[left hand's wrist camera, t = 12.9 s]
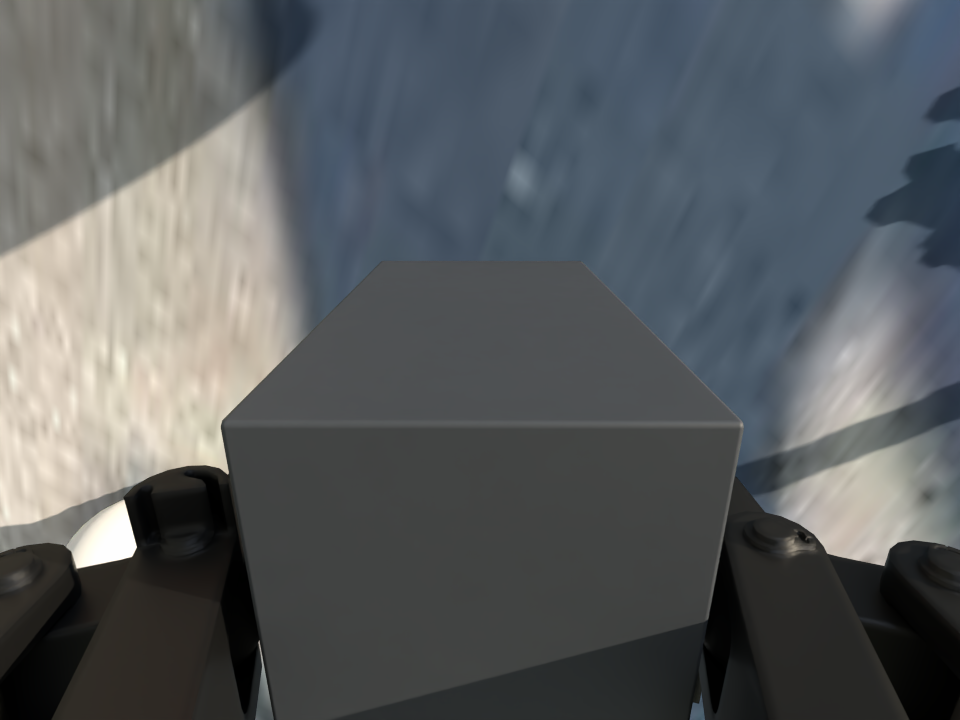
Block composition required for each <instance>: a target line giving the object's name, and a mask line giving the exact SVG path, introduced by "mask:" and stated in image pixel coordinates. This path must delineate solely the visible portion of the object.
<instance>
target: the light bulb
mask: <svg viewBox="0 0 960 720" xmlns="http://www.w3.org/2000/svg"><path fill="white" fill-rule="evenodd" d="M66 548H68V549H69V550H70V551H71V552H72V555H73V558H74V561H75V564H76V568H82V567H87V566H92V565H96V564H101V563H106V562H111V561H116V560H121V559H125V558H129V557H132V556H133V554H134V552H135V550H136V548H137V546H136V543H135V539H134V535H133V531H132V527H131V524H130V520H129V516H128V512H127V508H126V505H125V501H124V500H121V501H119V502H117V503H115V504H113V505H111V506H109V507H107V508H106V509H104V510H102V511H100V512H99V513H98V514H96V515H95V516H94V517H93V518H91V519H90V520H89V521H88V522H86V523H85V524H84V525H83V526H82V527H81V528H80V529H79V530H78V531H77V532H76V533H75V535H74V536H73V537H72V538H71V540H70V541H69V543H68V544H67V546H66Z"/></svg>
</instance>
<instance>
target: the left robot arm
mask: <svg viewBox="0 0 960 720" xmlns="http://www.w3.org/2000/svg"><path fill="white" fill-rule="evenodd" d="M124 501H125V505H126V508H127V512H128V516H129V520H130V524H131V527H132V531H133V535H134V539H135V543H136V546H137V548H136V550H135V552H134V554H133V556H132V557H129V558H125V559H121V560H116V561H111V562H106V563H101V564H96V565H92V566H87V567H82V568H76V564H75V561H74V558H73V555H72V552H71V551H70V550H69V549H68V548H66V547H65V546H64V545H59V544H52V543H43V544H35V545H26V546H22V547H18V548H16V549H11V550H8V551H5V552H2V553H0V720H255V716H256V708H257V701H258V693H259V685H260V677H261V670H262V662H261V654H260V649H259V643H258V642H259V635H258V629H257V624H256V618H255V613H254V607H253V602H252V596H251V591H250V585H249V580H248V574H247V569H246V563H245V558H244V552H243V547H242V541H241V536H240V530H239V525H238V519H237V514H236V508H235V503H234V497H233V492H232V486H231V481H230V475H229V474H228V475H227V474H226V473H225V472H223V471H222V470H221V469H220V468H215V467H210V466H206V465H205V466H186V467H181V468H176V469H171V470H167V471H165V472H162V473H159V474H157V475H154V476H151V477H149V478H147V479H146V480H144V481H142V482H141V483H139V484H137V485H136V486H134V487H133V488H132V489H131V490H130V491H129V492H128V493H127V494H126V495H125V496H124ZM701 692H702V699H703V707H704V715H705V720H960V550H958V549H955V548H952V547H949V546H948V547H946V546H945V545H942V544H937V543H930V542H922V541H914V540H913V541H906V542H899V543H897V544H896V545H894V546H893V547H892V548H891V549H890V550H889V553H888V557H887V560H886V563H885V566H881V565H876V564H871V563H866V562H861V561H857V560H852V559H847V558H842V557H838V556H834V555H830V554H827V553H826V551H825V549H824V547H823V545H822V544H821V543H820V542H819V540H818V539H817V538H816V537H815V535H814V534H812V533H811V532H809V531H808V530H807V529H805V528H804V527H802V526H801V525H799V524H797V523H795V522H793V521H790V520H788V519H786V518H784V517H781V516H777V515H773V514H769V513H765V512H764V510H763V509H762V508H761V507H760V505H759V504H758V503H757V502H756V501H755V499H754V498H753V497H752V496H751V494H750V493H749V492H748V491H747V489H746V488H745V487H744V486H743V485H742V483H741V482H740V481H739V480H738V478H737V477H735V478H734V483H733V488H732V494H731V499H730V504H729V510H728V515H727V521H726V526H725V531H724V537H723V542H722V547H721V553H720V558H719V564H718V569H717V574H716V580H715V585H714V590H713V596H712V601H711V606H710V612H709V617H708V623H707V628H706V633H705V639H704V644H703V649H702V655H701V660H700V666H699V671H698V676H697V682H696V687H695V692H694V698H693V702H694V703H698V704H699V701H700V696H701Z"/></svg>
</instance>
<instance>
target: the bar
mask: <svg viewBox="0 0 960 720" xmlns="http://www.w3.org/2000/svg"><path fill="white" fill-rule="evenodd" d="M743 429H744V427H743V423H742V421H741V420H740V419H739V418H738V417H737V416H736V415H735V414H734V413H733V412H732V411H731V410H730V409H729V408H728V407H727V406H726V405H725V404H724V403H723V402H722V401H721V400H720V399H719V398H718V397H717V396H716V395H715V394H714V393H713V392H712V391H711V390H710V389H709V388H708V387H707V386H706V385H705V384H704V383H703V382H702V381H701V380H700V379H699V378H698V377H697V376H696V375H695V374H694V373H693V372H692V371H691V370H690V369H689V368H688V367H687V366H686V365H685V364H684V363H683V362H682V361H681V360H680V359H679V358H678V357H677V356H676V355H675V354H674V353H673V352H672V351H671V350H670V349H669V348H668V347H667V346H666V345H665V344H664V343H663V342H662V341H661V340H660V339H659V338H658V337H657V336H656V335H655V334H654V333H653V332H652V331H651V330H650V329H649V328H648V327H647V326H646V325H645V324H644V323H643V322H642V321H641V320H640V319H639V318H638V317H637V316H636V315H635V314H634V313H633V312H632V311H631V310H630V309H629V308H628V307H627V306H626V305H625V304H624V303H623V302H622V301H621V300H620V299H619V298H618V297H617V296H616V295H615V294H614V293H613V292H612V291H611V290H610V289H609V288H608V287H607V286H606V285H605V284H604V283H603V282H602V281H601V280H600V279H599V278H598V277H597V276H596V275H595V274H594V273H593V272H592V271H591V270H590V269H589V268H588V267H587V266H586V265H585V264H584V263H583V262H581V261H382V262H381V263H380V264H379V265H378V266H377V267H376V268H375V269H374V270H373V271H372V272H371V273H370V274H369V275H368V276H367V277H366V278H365V279H364V280H363V281H362V282H361V283H360V284H359V285H358V286H357V287H356V288H355V289H354V290H353V291H352V292H351V293H350V294H349V295H348V296H347V297H346V298H345V299H344V300H343V301H342V302H341V303H340V304H339V305H338V306H337V307H336V308H335V309H334V310H333V311H332V312H331V313H330V314H329V315H328V316H327V317H326V318H325V319H324V320H323V321H322V322H321V323H320V324H319V325H318V326H317V327H316V328H315V329H314V330H313V331H312V332H311V333H310V334H309V335H308V336H307V337H306V338H305V339H304V340H303V341H302V342H301V343H300V344H299V345H298V346H297V347H296V348H295V349H294V350H293V351H292V352H291V353H290V354H289V355H288V356H287V357H286V358H285V359H284V360H283V361H282V362H281V363H280V364H279V365H277V366H276V367H275V368H274V369H273V370H272V371H271V372H270V373H269V374H268V375H267V376H266V377H265V378H264V379H263V380H262V381H261V382H260V383H259V384H258V385H257V386H256V387H255V388H254V389H253V390H252V391H251V392H250V393H249V394H248V395H247V396H246V397H245V398H244V399H243V400H242V401H241V402H240V403H239V404H238V405H237V406H236V407H235V408H234V409H233V410H232V411H231V412H230V413H229V414H228V415H227V416H226V417H225V418H224V419H223V420H222V424H221V431H222V437H223V442H224V448H225V453H226V459H227V464H228V470H229V475H230V481H231V486H232V492H233V497H234V503H235V508H236V514H237V519H238V525H239V530H240V536H241V541H242V547H243V552H244V558H245V563H246V569H247V574H248V580H249V585H250V591H251V596H252V602H253V607H254V613H255V618H256V624H257V629H258V635H259V640H260V646H261V651H262V657H263V662H264V668H265V673H266V678H267V684H268V689H269V695H270V700H271V706H272V711H273V717H274V720H689V719H690V714H691V708H692V703H693V698H694V692H695V687H696V682H697V676H698V671H699V666H700V660H701V655H702V649H703V644H704V639H705V633H706V628H707V623H708V617H709V612H710V606H711V601H712V596H713V590H714V585H715V580H716V574H717V569H718V564H719V558H720V553H721V547H722V542H723V537H724V531H725V526H726V521H727V515H728V510H729V504H730V499H731V494H732V488H733V483H734V478H735V472H736V467H737V461H738V456H739V451H740V445H741V440H742V435H743Z"/></svg>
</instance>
